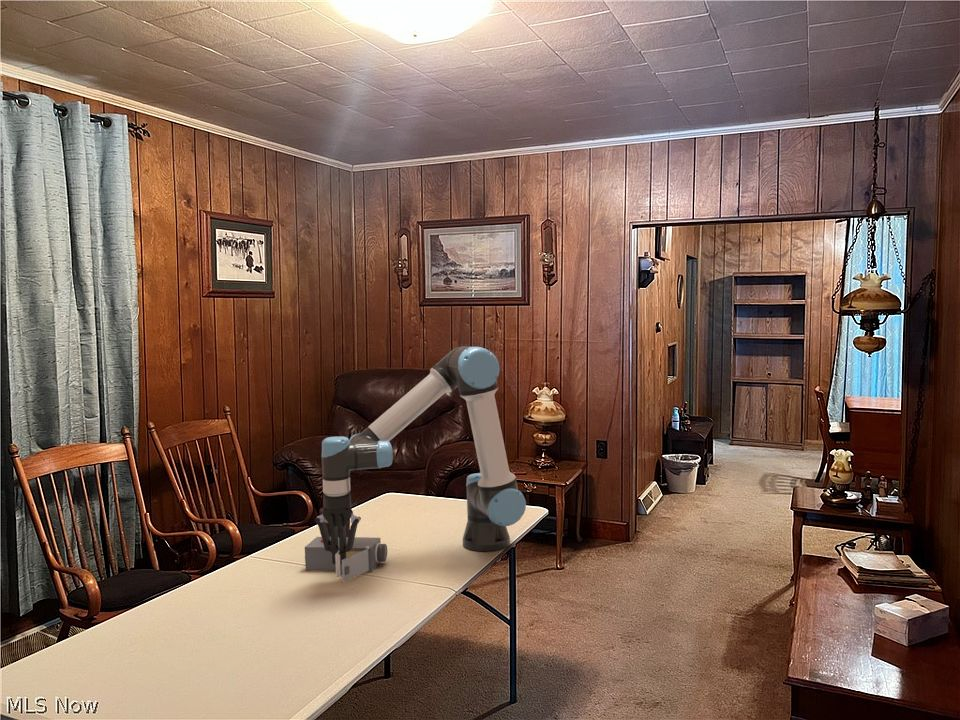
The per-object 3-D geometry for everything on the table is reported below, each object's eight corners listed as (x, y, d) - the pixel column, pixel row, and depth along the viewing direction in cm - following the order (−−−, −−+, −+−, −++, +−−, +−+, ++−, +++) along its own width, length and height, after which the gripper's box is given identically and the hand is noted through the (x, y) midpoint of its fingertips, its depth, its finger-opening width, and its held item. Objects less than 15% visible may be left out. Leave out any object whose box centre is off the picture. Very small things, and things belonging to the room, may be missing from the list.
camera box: (388, 560, 217) (387, 535, 217) (378, 573, 206) (377, 546, 206) (317, 559, 221) (316, 534, 220) (304, 571, 210) (303, 545, 209)
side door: (366, 570, 207) (365, 549, 207) (370, 570, 207) (369, 550, 206) (342, 581, 199) (341, 560, 199) (346, 582, 198) (345, 560, 198)
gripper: (363, 489, 202) (365, 570, 204) (319, 488, 204) (322, 569, 206) (354, 497, 195) (357, 581, 197) (309, 495, 197) (313, 579, 199)
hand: (339, 575), depth 202 cm, fingers closed
